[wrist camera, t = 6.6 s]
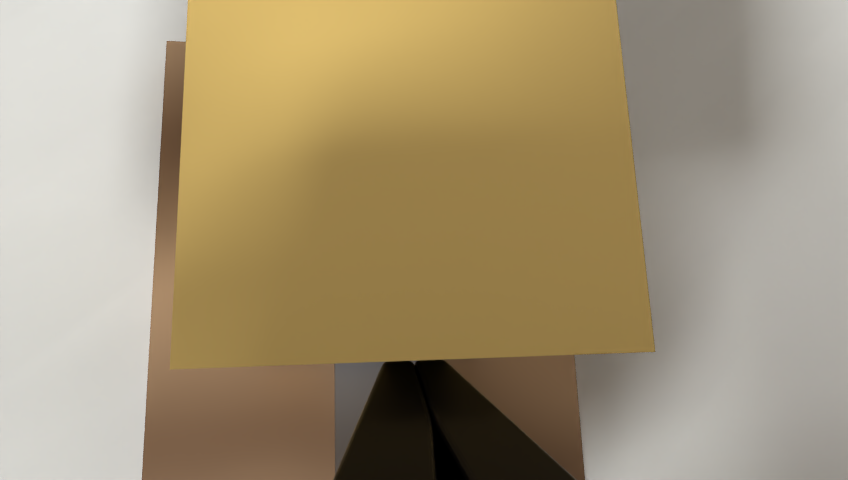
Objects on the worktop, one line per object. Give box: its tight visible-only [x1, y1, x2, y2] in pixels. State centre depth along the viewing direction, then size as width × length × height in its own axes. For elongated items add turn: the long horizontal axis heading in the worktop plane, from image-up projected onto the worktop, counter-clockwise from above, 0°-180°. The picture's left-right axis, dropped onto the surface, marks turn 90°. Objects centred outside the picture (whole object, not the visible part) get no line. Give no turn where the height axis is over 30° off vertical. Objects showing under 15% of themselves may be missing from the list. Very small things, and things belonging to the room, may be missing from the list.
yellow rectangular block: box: [170, 0, 655, 369], centre depth 11 cm, size 5×6×8 cm
